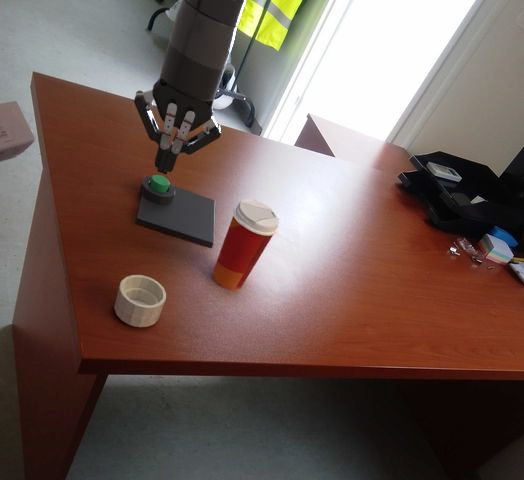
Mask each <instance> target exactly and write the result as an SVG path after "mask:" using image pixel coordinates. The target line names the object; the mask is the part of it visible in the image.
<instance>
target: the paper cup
mask: <svg viewBox="0 0 524 480" xmlns="http://www.w3.org/2000/svg"><path fill="white" fill-rule="evenodd" d="M279 224H280V219H279V218H278V216H277V214H276V213H275V212H274V211H273V209H272V208H271V207H269V206H268V205H267V204H265V203H263V202H261V201H258V200H257V199H256V200H255V199H250V198H249V199H248V198H247V199H242V200H240V201H239V203H238V204H236V205H235V206H234V207H233V209H232V218H231V221H230V223H229V226H228V228H227V232H226V234H225V237H224V240H223V242H222V245H221V248H220V251H219V254H218V255H217V259H216V262H215V264H214V268H213V271H212V277H213V280H214V282H216V284H217V285H219V286H220V287H222V288H224V289H226V290H229V291H230V290H231V291H237V290H239V289H241V288H242V287H243V285H244V283H245V282H246V280H247V279H248V278H249V276H250V274H251V273H252V271H253V269H254V267H255V266H256V264H257V262H258V261H259V260H260V258H261V256H262V254H263V253H264V251H265V250H266V248H267V246H268V244H269V243H270V241H271V240H272V238H273V236H274V235H276V234H277V233H278V232H279Z"/></svg>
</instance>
